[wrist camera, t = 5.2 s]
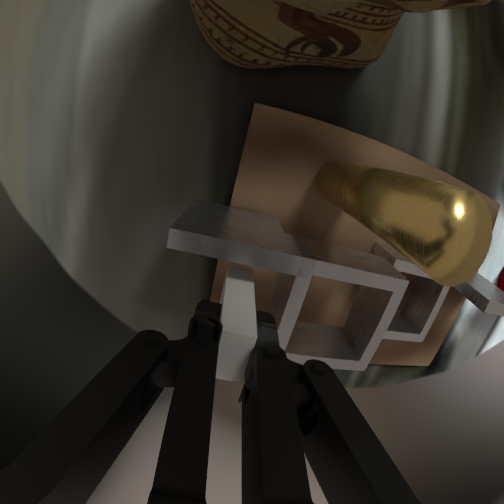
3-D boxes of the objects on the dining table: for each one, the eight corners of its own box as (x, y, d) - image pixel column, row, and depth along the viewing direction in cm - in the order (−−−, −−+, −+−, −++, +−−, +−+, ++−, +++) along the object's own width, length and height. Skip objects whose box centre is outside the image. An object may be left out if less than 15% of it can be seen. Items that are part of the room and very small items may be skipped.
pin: (322, 154, 20) (444, 175, 7) (361, 167, 20) (501, 208, 7) (311, 196, 21) (409, 277, 8) (350, 207, 21) (471, 292, 8)
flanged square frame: (195, 199, 20) (169, 227, 13) (362, 239, 22) (409, 281, 15) (181, 280, 23) (156, 339, 15) (335, 311, 24) (364, 370, 17)
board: (254, 105, 20) (255, 102, 18) (493, 201, 22) (500, 204, 21) (203, 333, 26) (201, 340, 25) (424, 359, 29) (428, 365, 28)
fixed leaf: (375, 241, 22) (428, 286, 15) (477, 272, 24) (526, 309, 16) (348, 311, 24) (382, 373, 17) (451, 325, 26) (491, 370, 18)
